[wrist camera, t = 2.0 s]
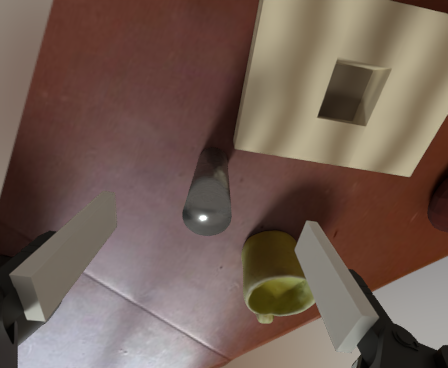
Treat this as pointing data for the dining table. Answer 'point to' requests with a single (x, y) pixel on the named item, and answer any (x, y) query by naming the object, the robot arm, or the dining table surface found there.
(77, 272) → the robot arm
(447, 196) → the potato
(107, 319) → the dining table surface
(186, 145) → the dining table surface
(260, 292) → the mug
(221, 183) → the pin
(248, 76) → the block
